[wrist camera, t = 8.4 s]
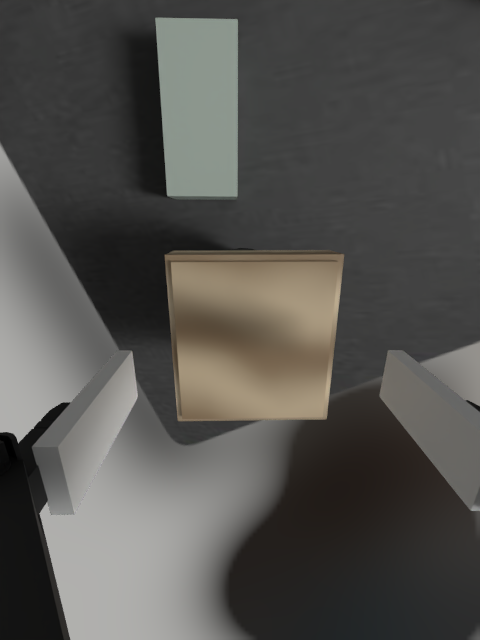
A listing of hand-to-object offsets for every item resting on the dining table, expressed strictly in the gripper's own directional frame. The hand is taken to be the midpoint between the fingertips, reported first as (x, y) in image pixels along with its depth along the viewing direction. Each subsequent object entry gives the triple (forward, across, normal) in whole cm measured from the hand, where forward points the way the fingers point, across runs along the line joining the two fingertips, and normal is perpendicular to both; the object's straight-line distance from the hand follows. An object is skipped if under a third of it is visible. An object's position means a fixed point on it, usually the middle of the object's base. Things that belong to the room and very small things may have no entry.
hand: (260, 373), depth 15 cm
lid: (+8, 0, -1) cm, 8 cm away
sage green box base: (+18, -4, +15) cm, 24 cm away
